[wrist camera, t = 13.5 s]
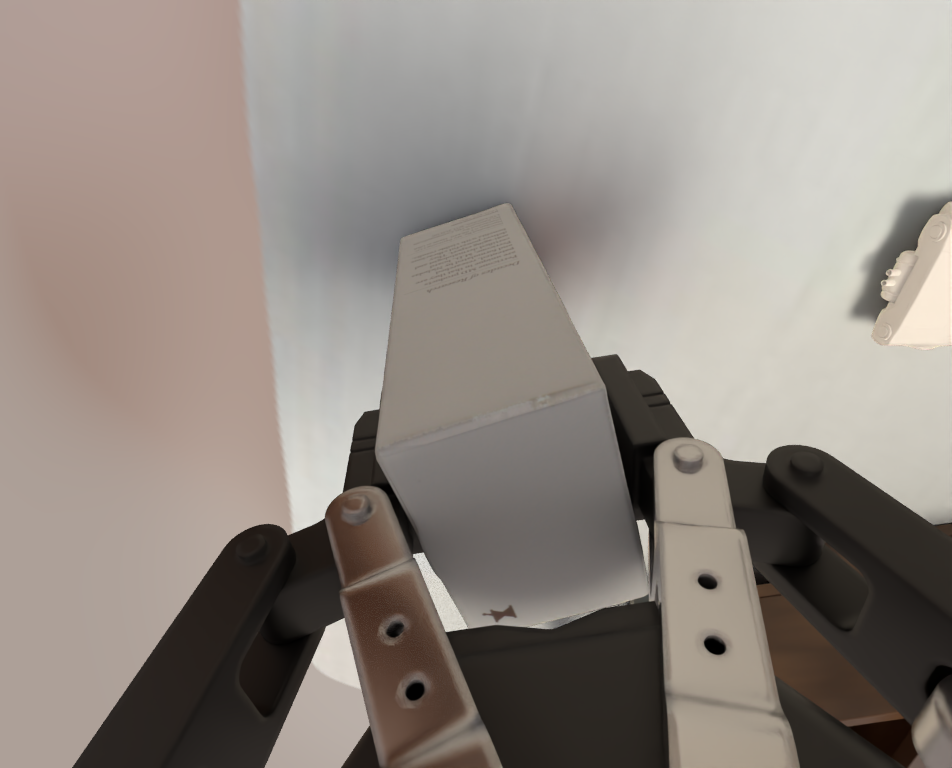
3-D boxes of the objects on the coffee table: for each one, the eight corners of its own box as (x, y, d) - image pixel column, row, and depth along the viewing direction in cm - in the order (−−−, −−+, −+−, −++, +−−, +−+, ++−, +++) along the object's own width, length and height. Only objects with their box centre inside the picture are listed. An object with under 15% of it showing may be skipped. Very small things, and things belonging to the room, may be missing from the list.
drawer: (556, 708, 38) (582, 850, 31) (545, 603, 31) (576, 757, 24) (817, 670, 37) (899, 805, 31) (865, 556, 31) (983, 698, 24)
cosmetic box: (550, 340, 22) (656, 602, 12) (450, 370, 22) (470, 649, 12) (512, 193, 18) (613, 384, 8) (395, 232, 19) (360, 457, 9)
